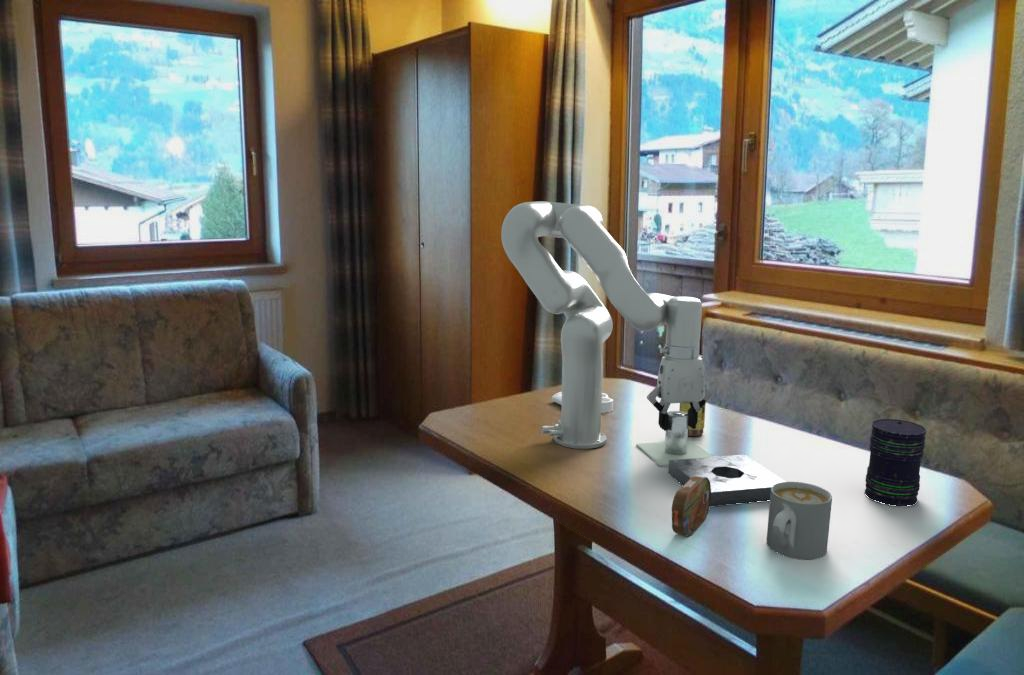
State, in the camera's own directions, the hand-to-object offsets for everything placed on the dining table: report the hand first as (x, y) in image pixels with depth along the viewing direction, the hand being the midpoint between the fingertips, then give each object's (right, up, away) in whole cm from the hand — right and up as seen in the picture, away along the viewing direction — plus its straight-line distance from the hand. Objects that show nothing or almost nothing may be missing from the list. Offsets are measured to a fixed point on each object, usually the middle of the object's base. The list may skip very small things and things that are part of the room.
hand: (677, 427), depth 182 cm
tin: (-5, -14, -36) cm, 39 cm away
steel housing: (+7, -10, -17) cm, 21 cm away
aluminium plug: (0, -6, +1) cm, 6 cm away
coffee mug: (+10, -16, -45) cm, 48 cm away
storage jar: (+39, -12, -22) cm, 46 cm away
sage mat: (0, -6, +1) cm, 6 cm away
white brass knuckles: (-18, +1, +39) cm, 43 cm away
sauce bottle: (+7, -4, +16) cm, 18 cm away
